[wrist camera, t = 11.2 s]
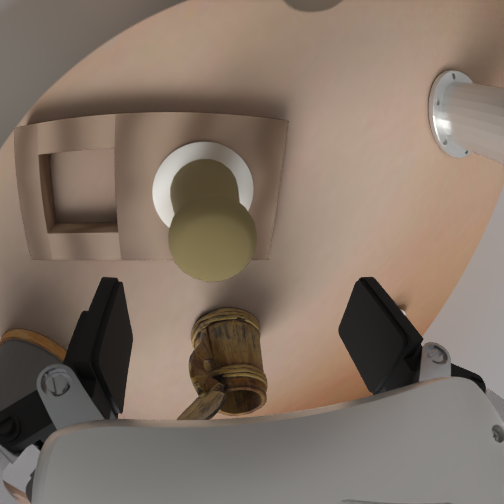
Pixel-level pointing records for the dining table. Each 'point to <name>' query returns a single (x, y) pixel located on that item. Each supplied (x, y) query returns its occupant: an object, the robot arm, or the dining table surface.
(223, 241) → the cork
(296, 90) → the dining table surface
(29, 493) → the decorative piece
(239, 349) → the wooden mug
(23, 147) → the caddy board
